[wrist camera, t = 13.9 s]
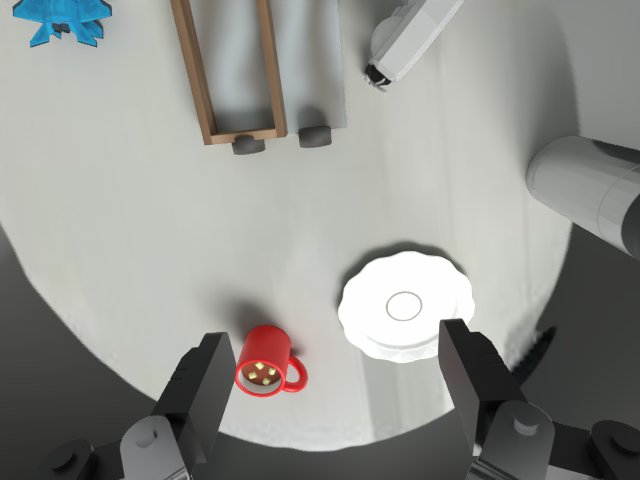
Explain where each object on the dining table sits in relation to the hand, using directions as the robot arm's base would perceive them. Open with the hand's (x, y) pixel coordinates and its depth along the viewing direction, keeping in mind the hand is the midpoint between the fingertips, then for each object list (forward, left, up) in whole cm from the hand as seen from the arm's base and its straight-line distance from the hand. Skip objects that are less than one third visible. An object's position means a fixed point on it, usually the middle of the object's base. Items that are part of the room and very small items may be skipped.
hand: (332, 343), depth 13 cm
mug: (+12, +32, -36) cm, 50 cm away
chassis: (+7, -12, -36) cm, 39 cm away
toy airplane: (+23, -19, -36) cm, 47 cm away
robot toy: (-8, -13, -36) cm, 39 cm away
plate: (-9, +25, -37) cm, 45 cm away
